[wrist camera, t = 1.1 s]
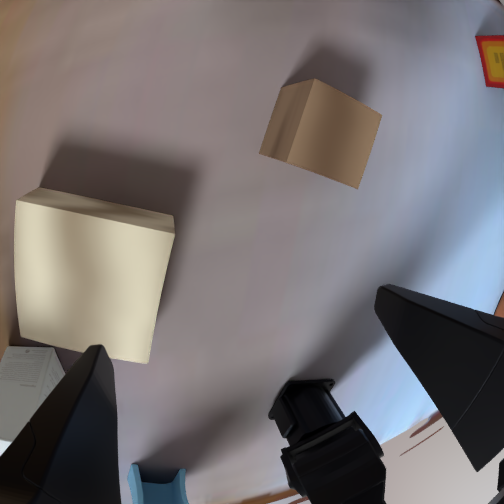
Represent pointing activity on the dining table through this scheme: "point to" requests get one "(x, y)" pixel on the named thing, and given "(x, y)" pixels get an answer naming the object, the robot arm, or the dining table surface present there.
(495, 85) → the baking soda box
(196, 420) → the dining table surface
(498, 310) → the potted cactus
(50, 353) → the small box
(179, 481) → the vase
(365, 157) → the walnut cube
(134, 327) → the cream square block
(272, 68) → the dining table surface
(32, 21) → the dining table surface
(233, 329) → the dining table surface
